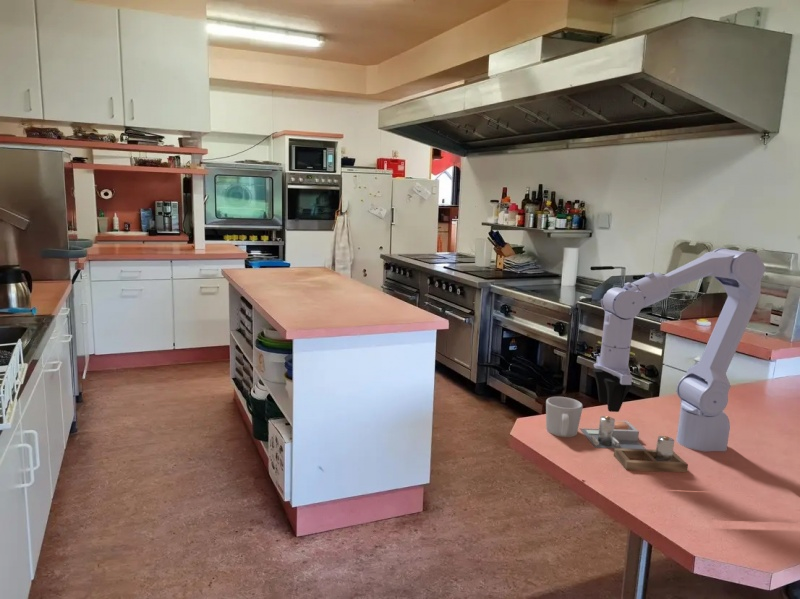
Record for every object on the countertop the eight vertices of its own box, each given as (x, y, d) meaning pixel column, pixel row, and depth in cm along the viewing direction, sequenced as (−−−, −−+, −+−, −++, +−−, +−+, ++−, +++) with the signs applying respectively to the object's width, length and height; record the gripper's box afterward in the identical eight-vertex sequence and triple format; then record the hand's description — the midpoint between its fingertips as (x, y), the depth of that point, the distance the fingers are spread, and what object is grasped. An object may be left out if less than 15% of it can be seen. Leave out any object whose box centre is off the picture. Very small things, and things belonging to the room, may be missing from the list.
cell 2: (666, 461, 117) (670, 434, 116) (673, 468, 114) (677, 440, 113) (651, 461, 117) (655, 433, 116) (658, 468, 114) (662, 440, 113)
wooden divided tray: (670, 463, 119) (672, 450, 118) (686, 477, 113) (688, 464, 112) (613, 461, 119) (614, 448, 118) (625, 475, 112) (627, 462, 112)
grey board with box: (626, 435, 133) (627, 421, 132) (646, 454, 122) (647, 439, 122) (578, 433, 132) (580, 419, 132) (594, 453, 122) (596, 437, 122)
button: (624, 429, 131) (625, 421, 131) (630, 436, 128) (631, 427, 127) (608, 429, 131) (609, 420, 131) (614, 435, 128) (615, 426, 127)
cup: (582, 450, 123) (586, 415, 122) (544, 445, 125) (547, 410, 123) (577, 431, 134) (581, 398, 132) (542, 427, 135) (545, 394, 134)
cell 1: (609, 440, 126) (611, 414, 125) (614, 446, 123) (617, 419, 122) (595, 439, 126) (598, 414, 125) (600, 445, 123) (603, 419, 122)
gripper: (585, 336, 128) (579, 394, 130) (610, 353, 114) (602, 418, 116) (616, 337, 128) (610, 395, 131) (645, 354, 114) (637, 420, 116)
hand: (608, 406), depth 123 cm, fingers open, 5 cm apart
